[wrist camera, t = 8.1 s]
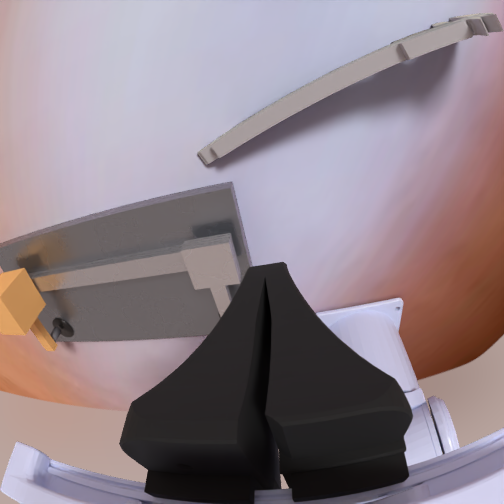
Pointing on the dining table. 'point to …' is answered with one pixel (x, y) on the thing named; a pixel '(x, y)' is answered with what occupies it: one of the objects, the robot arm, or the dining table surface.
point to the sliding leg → (23, 308)
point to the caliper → (352, 77)
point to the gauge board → (138, 267)
